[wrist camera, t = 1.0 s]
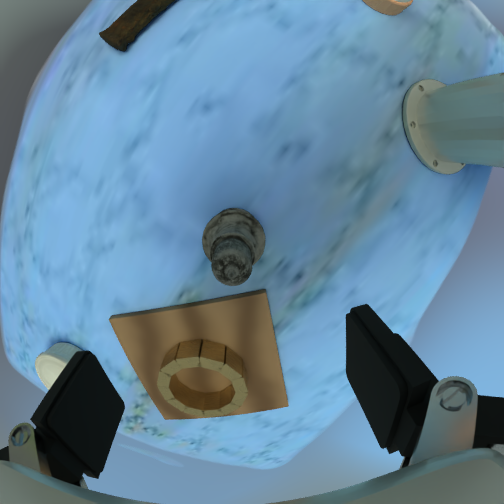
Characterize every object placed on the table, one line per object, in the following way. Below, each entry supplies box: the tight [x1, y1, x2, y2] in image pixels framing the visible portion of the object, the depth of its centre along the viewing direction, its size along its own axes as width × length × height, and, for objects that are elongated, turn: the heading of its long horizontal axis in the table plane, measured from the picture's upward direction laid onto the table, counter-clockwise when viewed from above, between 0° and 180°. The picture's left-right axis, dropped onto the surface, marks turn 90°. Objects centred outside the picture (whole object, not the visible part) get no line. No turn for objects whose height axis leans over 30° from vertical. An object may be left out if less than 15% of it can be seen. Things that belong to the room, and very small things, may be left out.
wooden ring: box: [157, 339, 248, 417], centre depth 31 cm, size 11×11×4 cm
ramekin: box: [35, 342, 82, 390], centre depth 31 cm, size 11×11×5 cm
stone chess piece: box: [202, 208, 265, 286], centre depth 23 cm, size 6×6×12 cm
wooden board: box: [109, 289, 289, 420], centre depth 33 cm, size 20×20×1 cm
